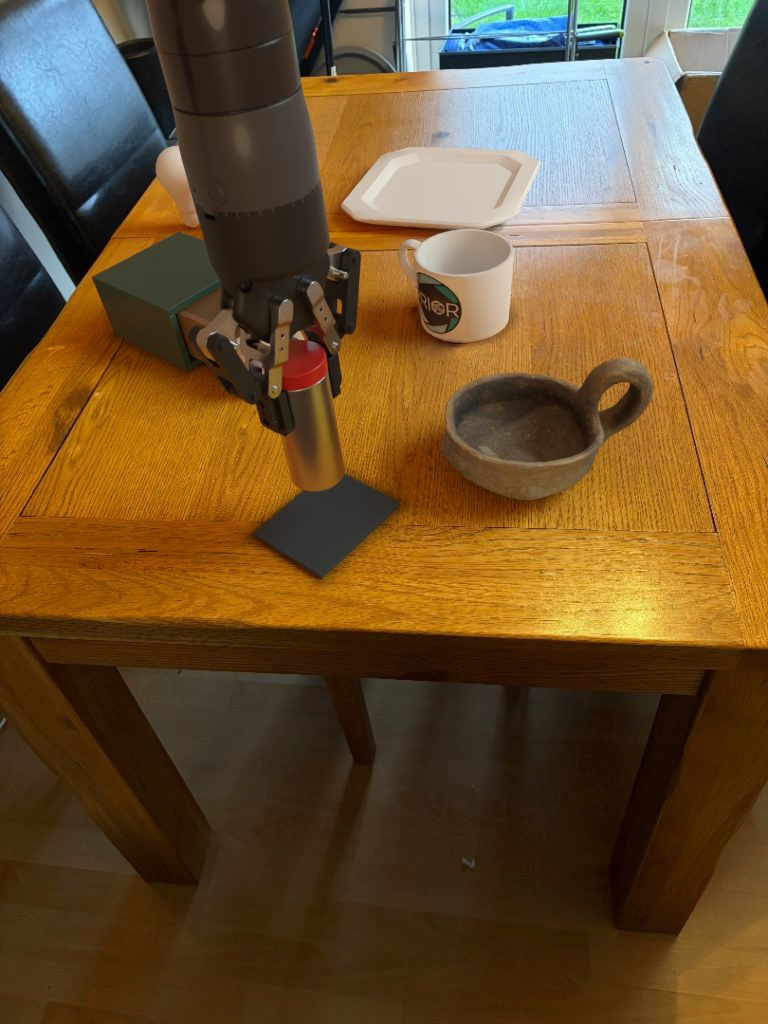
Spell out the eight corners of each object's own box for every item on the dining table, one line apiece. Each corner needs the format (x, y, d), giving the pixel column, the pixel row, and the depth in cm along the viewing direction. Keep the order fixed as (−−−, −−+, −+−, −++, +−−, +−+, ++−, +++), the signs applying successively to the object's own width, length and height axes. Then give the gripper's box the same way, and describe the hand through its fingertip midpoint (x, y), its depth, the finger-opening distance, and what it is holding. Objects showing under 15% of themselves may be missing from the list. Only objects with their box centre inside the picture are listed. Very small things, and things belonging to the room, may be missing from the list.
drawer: (336, 343, 81) (328, 295, 77) (261, 397, 75) (248, 348, 71) (251, 309, 88) (239, 263, 84) (176, 356, 82) (160, 309, 78)
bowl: (433, 426, 71) (428, 336, 64) (616, 408, 70) (632, 315, 63) (449, 531, 61) (445, 439, 54) (661, 510, 61) (686, 415, 54)
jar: (319, 500, 57) (293, 384, 49) (278, 478, 59) (248, 363, 52) (357, 467, 59) (339, 351, 52) (316, 447, 62) (293, 332, 54)
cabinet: (269, 318, 87) (255, 258, 82) (187, 372, 81) (167, 310, 76) (195, 288, 94) (178, 231, 89) (114, 335, 88) (91, 276, 83)
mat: (321, 580, 59) (321, 576, 59) (253, 537, 63) (252, 533, 63) (400, 506, 64) (400, 502, 64) (332, 470, 68) (332, 466, 68)
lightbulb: (202, 213, 110) (181, 135, 102) (223, 225, 106) (203, 145, 99) (166, 228, 108) (141, 149, 100) (186, 241, 104) (162, 160, 96)
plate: (332, 230, 102) (329, 215, 101) (389, 159, 118) (387, 144, 116) (510, 243, 95) (510, 226, 93) (545, 165, 111) (546, 150, 109)
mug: (528, 307, 84) (531, 238, 78) (484, 355, 78) (484, 285, 73) (426, 282, 90) (423, 217, 84) (378, 325, 84) (371, 259, 79)
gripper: (295, 126, 48) (332, 349, 60) (115, 213, 41) (199, 446, 53) (383, 145, 44) (404, 379, 57) (203, 244, 37) (271, 487, 50)
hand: (304, 410), depth 55 cm, fingers closed on jar, 4 cm apart
